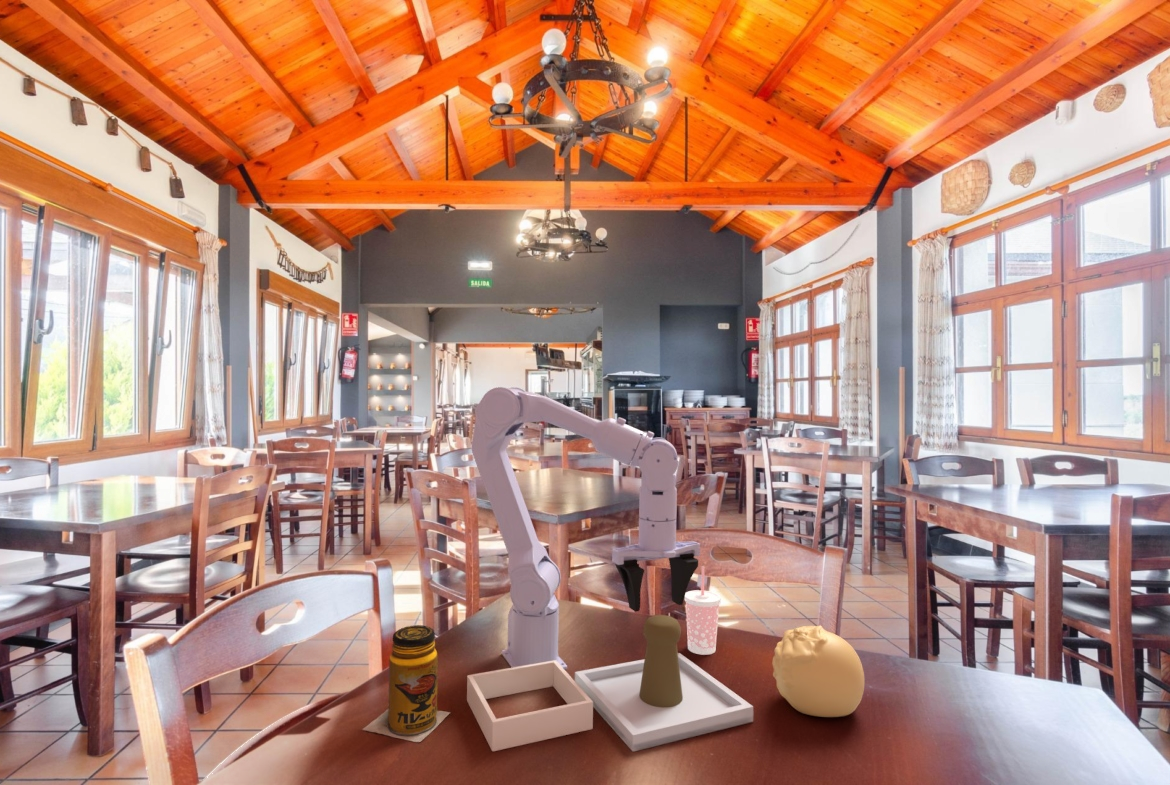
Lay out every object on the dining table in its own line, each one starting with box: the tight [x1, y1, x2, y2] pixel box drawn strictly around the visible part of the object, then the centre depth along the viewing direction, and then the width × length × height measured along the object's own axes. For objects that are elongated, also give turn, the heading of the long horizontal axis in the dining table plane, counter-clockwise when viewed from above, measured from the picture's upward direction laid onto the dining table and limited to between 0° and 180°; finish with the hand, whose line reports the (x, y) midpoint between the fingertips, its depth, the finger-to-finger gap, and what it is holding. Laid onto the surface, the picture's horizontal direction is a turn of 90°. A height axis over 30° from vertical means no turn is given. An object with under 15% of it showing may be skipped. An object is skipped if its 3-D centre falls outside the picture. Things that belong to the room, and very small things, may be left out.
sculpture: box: [772, 625, 865, 718], centre depth 87 cm, size 12×12×11 cm
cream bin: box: [466, 660, 594, 753], centre depth 83 cm, size 13×13×4 cm
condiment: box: [362, 624, 451, 743], centre depth 81 cm, size 7×8×12 cm
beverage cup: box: [684, 565, 722, 656], centre depth 105 cm, size 6×6×14 cm
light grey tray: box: [574, 652, 754, 752], centre depth 87 cm, size 18×18×2 cm
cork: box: [639, 614, 683, 708], centre depth 87 cm, size 6×6×11 cm
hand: (656, 606), depth 96 cm, fingers open, 7 cm apart
